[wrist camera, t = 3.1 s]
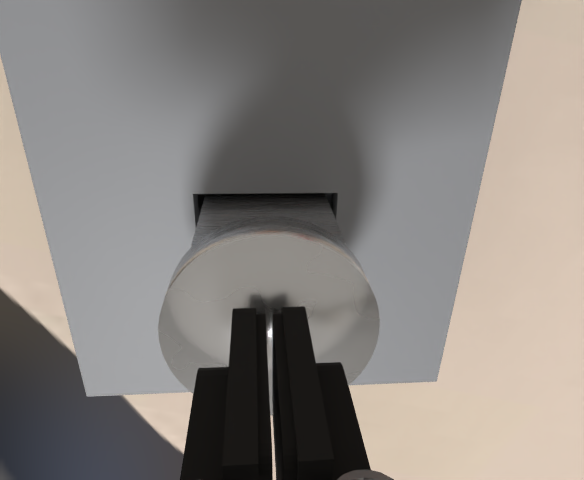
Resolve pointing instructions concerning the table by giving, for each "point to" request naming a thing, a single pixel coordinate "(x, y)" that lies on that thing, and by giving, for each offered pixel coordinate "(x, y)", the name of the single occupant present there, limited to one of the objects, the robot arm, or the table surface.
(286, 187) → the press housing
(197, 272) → the grey plunger
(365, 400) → the table surface
